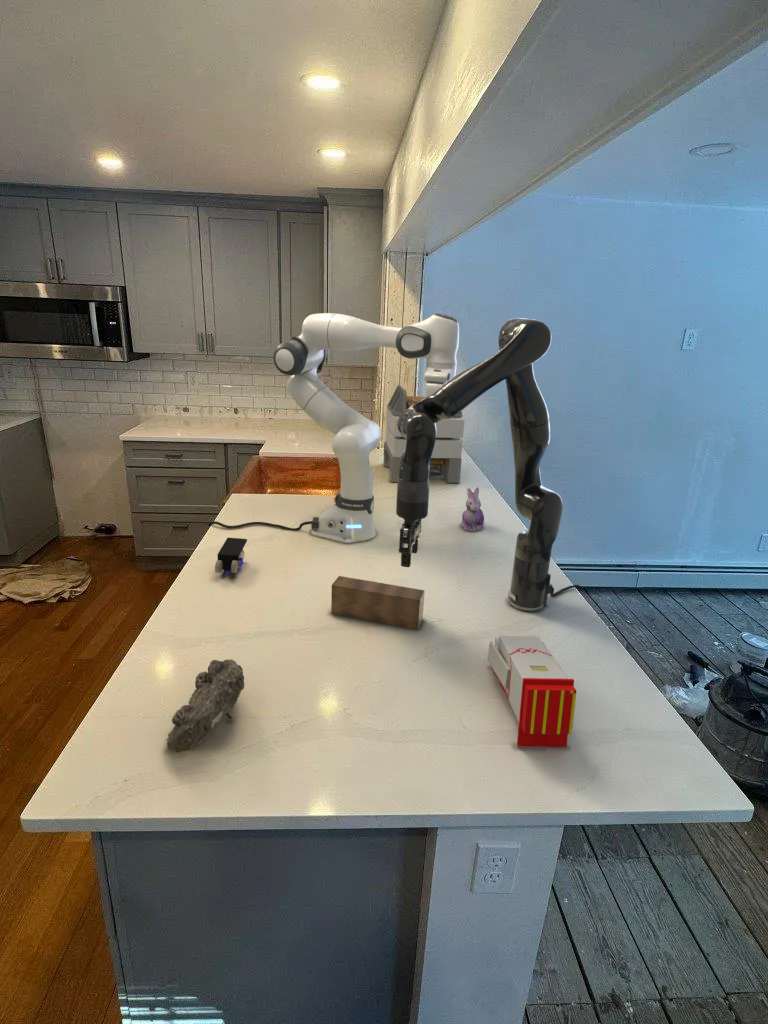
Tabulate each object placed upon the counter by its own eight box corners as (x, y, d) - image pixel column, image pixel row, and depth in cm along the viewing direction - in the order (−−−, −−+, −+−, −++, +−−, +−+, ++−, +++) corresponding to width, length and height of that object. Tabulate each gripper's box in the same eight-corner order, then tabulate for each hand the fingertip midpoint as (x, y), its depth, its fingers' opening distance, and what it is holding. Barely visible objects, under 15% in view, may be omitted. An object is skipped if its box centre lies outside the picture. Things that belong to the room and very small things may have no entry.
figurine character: (238, 584, 162) (249, 557, 175) (236, 562, 158) (247, 536, 172) (215, 584, 161) (227, 556, 175) (212, 561, 158) (225, 535, 171)
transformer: (382, 463, 289) (386, 382, 275) (445, 464, 293) (451, 384, 279) (390, 482, 257) (394, 392, 243) (460, 483, 261) (468, 394, 247)
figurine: (470, 533, 202) (474, 493, 197) (453, 524, 211) (457, 485, 206) (491, 530, 207) (495, 491, 202) (474, 520, 215) (478, 483, 210)
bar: (331, 613, 146) (331, 584, 144) (338, 603, 151) (339, 575, 148) (417, 629, 141) (419, 600, 138) (422, 619, 146) (424, 590, 143)
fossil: (192, 660, 117) (244, 628, 112) (224, 691, 120) (276, 661, 115) (142, 746, 98) (202, 712, 93) (182, 779, 101) (242, 748, 96)
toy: (536, 619, 129) (586, 686, 99) (531, 673, 131) (578, 754, 102) (483, 618, 128) (517, 685, 99) (479, 672, 131) (511, 753, 102)
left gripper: (436, 369, 176) (432, 413, 181) (423, 375, 157) (419, 424, 162) (456, 370, 175) (451, 415, 179) (445, 377, 156) (440, 427, 161)
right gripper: (422, 507, 125) (418, 573, 131) (433, 489, 138) (429, 550, 144) (390, 503, 127) (387, 569, 133) (403, 486, 140) (400, 546, 146)
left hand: (436, 419), depth 171 cm, fingers open, 8 cm apart
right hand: (409, 559), depth 138 cm, fingers open, 8 cm apart
